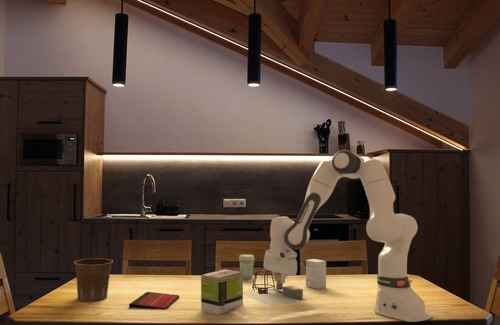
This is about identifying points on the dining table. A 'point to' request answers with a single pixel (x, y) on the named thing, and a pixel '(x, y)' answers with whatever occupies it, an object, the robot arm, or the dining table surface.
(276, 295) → the floor panel
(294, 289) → the grey rectangular block
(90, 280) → the plant pot
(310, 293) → the dining table surface
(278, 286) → the peg
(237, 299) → the tea box
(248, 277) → the coffee cup
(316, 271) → the small box
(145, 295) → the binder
